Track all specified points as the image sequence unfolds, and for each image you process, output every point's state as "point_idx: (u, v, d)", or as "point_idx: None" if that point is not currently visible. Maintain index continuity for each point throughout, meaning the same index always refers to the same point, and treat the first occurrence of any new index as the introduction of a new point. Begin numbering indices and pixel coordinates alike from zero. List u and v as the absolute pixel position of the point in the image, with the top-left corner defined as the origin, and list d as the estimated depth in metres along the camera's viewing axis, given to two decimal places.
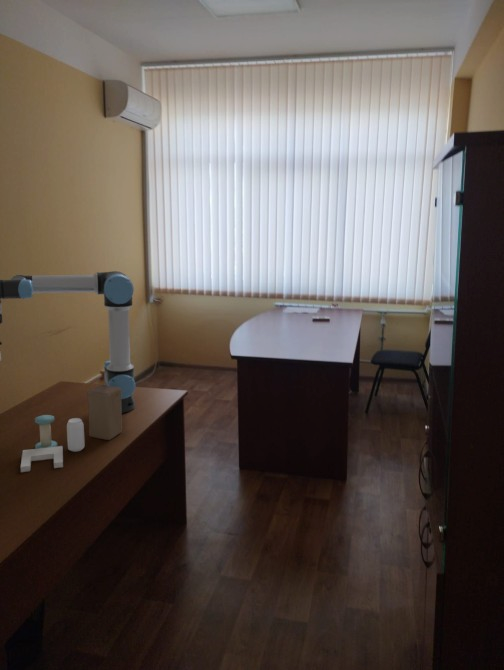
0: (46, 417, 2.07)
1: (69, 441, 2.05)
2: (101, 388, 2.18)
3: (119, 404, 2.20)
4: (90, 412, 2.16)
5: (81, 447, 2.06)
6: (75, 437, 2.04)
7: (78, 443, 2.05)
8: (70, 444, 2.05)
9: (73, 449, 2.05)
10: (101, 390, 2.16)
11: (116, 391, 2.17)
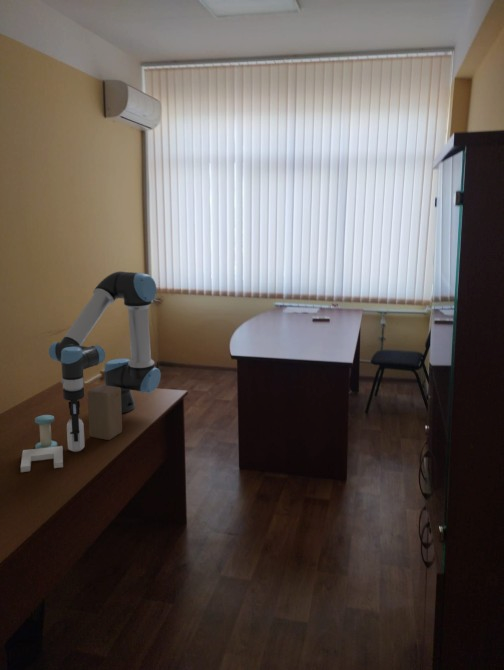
0: (46, 417, 2.07)
1: (69, 441, 2.05)
2: (101, 388, 2.18)
3: (119, 404, 2.20)
4: (90, 412, 2.16)
5: (81, 447, 2.06)
6: None
7: None
8: (70, 444, 2.05)
9: (73, 449, 2.05)
10: (101, 390, 2.16)
11: (116, 391, 2.17)
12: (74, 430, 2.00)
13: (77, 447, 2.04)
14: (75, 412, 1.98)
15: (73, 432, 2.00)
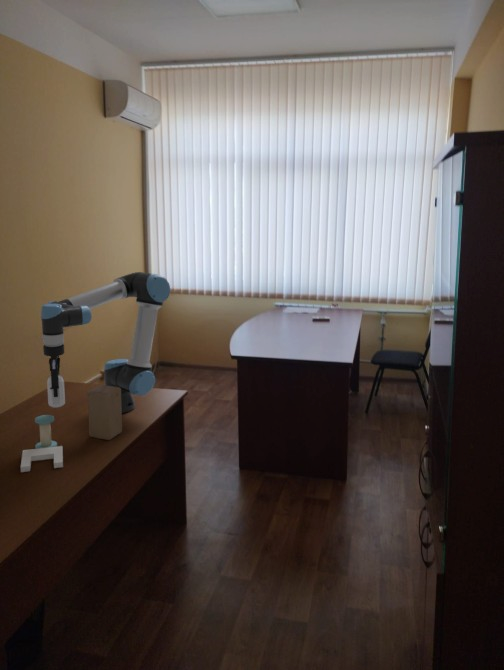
0: (46, 417, 2.07)
1: (49, 397, 2.08)
2: (101, 388, 2.18)
3: (119, 404, 2.20)
4: (90, 412, 2.16)
5: (61, 403, 2.10)
6: None
7: None
8: (50, 400, 2.08)
9: (53, 405, 2.08)
10: (101, 390, 2.16)
11: (116, 391, 2.17)
12: (53, 385, 2.03)
13: (57, 403, 2.08)
14: (54, 367, 2.02)
15: (52, 387, 2.03)
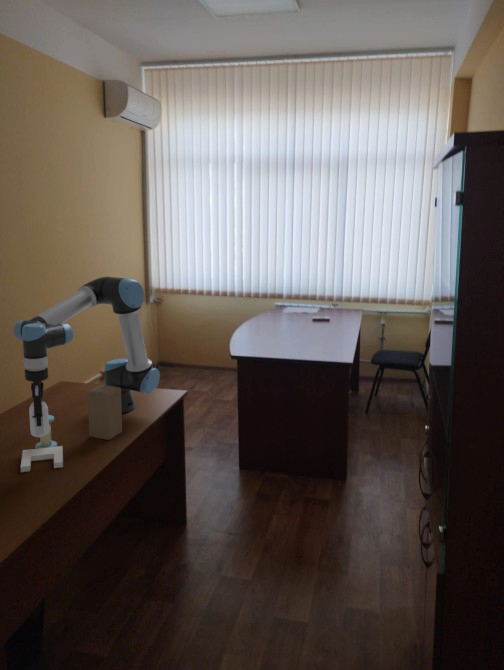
0: None
1: (32, 426, 1.89)
2: (101, 388, 2.18)
3: (119, 404, 2.20)
4: (90, 412, 2.16)
5: (45, 432, 1.90)
6: None
7: None
8: (33, 429, 1.89)
9: None
10: (101, 390, 2.16)
11: (116, 391, 2.17)
12: (36, 413, 1.84)
13: (40, 432, 1.89)
14: (37, 394, 1.83)
15: (35, 416, 1.84)
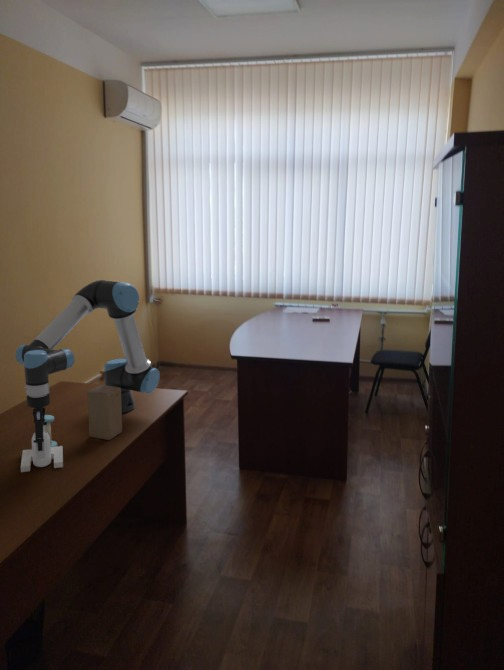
0: (46, 417, 2.07)
1: (34, 456, 1.92)
2: (101, 388, 2.18)
3: (119, 404, 2.20)
4: (90, 412, 2.16)
5: (47, 462, 1.93)
6: None
7: (43, 458, 1.92)
8: (35, 459, 1.92)
9: (38, 464, 1.92)
10: (101, 390, 2.16)
11: (116, 391, 2.17)
12: (37, 438, 1.83)
13: (42, 457, 1.87)
14: (39, 417, 1.84)
15: (36, 441, 1.83)
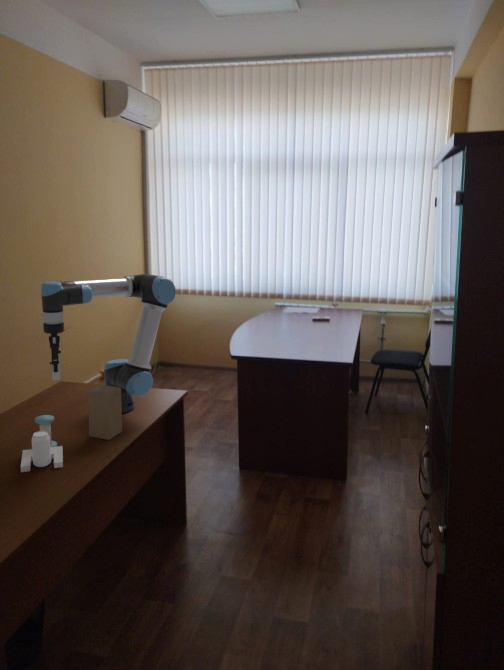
0: (46, 417, 2.07)
1: (34, 456, 1.92)
2: (101, 388, 2.18)
3: (119, 404, 2.20)
4: (90, 412, 2.16)
5: (47, 462, 1.93)
6: (41, 451, 1.91)
7: (43, 458, 1.92)
8: (35, 459, 1.92)
9: (38, 464, 1.92)
10: (101, 390, 2.16)
11: (116, 391, 2.17)
12: (53, 359, 2.01)
13: (57, 378, 2.06)
14: (54, 341, 2.02)
15: (52, 362, 2.01)
